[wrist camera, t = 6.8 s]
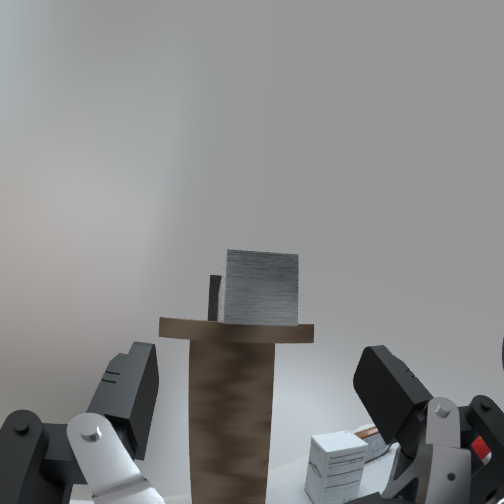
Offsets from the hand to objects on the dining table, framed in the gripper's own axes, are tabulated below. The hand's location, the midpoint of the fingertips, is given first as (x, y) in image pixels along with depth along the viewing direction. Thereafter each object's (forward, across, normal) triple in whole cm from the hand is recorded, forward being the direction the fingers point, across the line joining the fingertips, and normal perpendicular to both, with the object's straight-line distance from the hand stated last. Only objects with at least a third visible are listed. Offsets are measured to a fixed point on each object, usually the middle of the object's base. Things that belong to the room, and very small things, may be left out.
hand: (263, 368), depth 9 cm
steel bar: (+12, 0, +5) cm, 12 cm away
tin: (+17, -31, +46) cm, 58 cm away
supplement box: (+9, -18, +40) cm, 45 cm away
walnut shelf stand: (0, 0, +35) cm, 35 cm away
